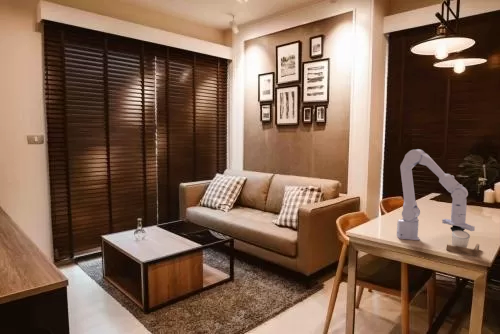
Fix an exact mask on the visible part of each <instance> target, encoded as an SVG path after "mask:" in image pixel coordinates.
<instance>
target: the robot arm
mask: <svg viewBox="0 0 500 334" xmlns="http://www.w3.org/2000/svg"><path fill="white" fill-rule="evenodd" d="M417 164H418V165H422V166H426V167H427V168H428V169H429V170H430V172H432V173H433V174H435V175H436V177H438V179H439V180H438V183H440V184H441V186H442V187H444V189H446V191H447V192H448V193H450V196H451V198H452V202H451V213H450V219H447V218H442V220H441V221H442V222H441V223H442V224H446V225H449V226H450V229H449V230H450V231H451V233H452V232H453V231H455V230H461V231H465V230H466V231H470V232H475V228H476V227H475V226H474V225H471V224H469V223H466V218H467V205H468V204H467V202H468V201H467V200H468V199H467V197H468V196H469V192H468V189H467V187H464V186H463V184H462V183H461V184H460V182H458V181H457V180H456V179H455V176H454V175H451V174H450V173H445V171H443V169H442V168H441V167H440V166H439V165H438V164H437V163H436V162H435V161H434V159H433V158H432V157H430V155H429V154H428V153H426V152H425V151H424V150H423V149H419V148H417V149H411V150H409V151H408V152H407V153H406V154H405V155H404V158H403V160H402V161H401V163H400V167H399V168H400V176H401V183H402V184H401V185H402V192H403V193H402V194H403V203H402V204H403V205H402V211H401V216H402V219H397V223H396V236H397V237H398V239H399V240H400V239H402V240H413V241H420V240H421V239H420V238H419V236H418V235H419V224H420V223H419V218H418V217H420V214H421V211H420V208H419V207H418V203H417V201H416V195H415V187H414V178H413V170H412V169H413V168H414V167H415V166H416V165H417Z"/></svg>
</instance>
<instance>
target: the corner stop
mask: <svg viewBox="0 0 500 334" xmlns="http://www.w3.org/2000/svg"><path fill="white" fill-rule="evenodd" d="M446 251H449V252H452V253H458V254H463V255H467V256H472V257H477V256H478V252H479V251H480V244H479V243H476V244H475V247H474V248H469V247H467V248H464V247H459V246H453V245H452V244H449V243H447V244H446Z"/></svg>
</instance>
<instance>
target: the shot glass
mask: <svg viewBox="0 0 500 334" xmlns="http://www.w3.org/2000/svg"><path fill="white" fill-rule="evenodd" d="M470 237H471V235H470V234H469V232H467V231H465V230H464V231H461V230H455V231H453V232H452V231H451V245H453V246H459V247H464V248H468V244H469V241H470V239H471V238H470Z"/></svg>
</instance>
